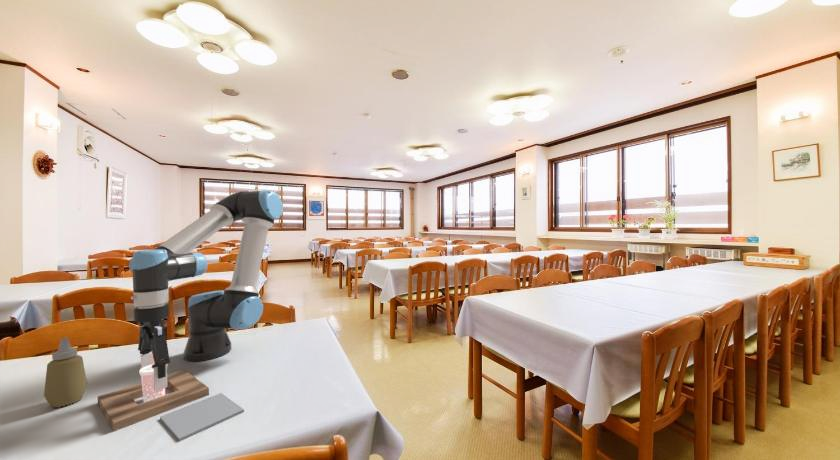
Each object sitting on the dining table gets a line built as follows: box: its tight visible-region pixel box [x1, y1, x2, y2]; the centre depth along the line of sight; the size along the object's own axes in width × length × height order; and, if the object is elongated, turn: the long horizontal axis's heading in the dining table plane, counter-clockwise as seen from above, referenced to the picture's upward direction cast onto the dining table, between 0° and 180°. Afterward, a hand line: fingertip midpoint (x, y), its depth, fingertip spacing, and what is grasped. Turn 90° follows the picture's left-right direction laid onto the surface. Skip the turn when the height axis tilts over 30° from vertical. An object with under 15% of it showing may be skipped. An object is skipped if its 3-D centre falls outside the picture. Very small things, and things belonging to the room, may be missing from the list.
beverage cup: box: [138, 354, 166, 403], centre depth 90 cm, size 6×6×14 cm
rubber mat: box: [159, 392, 245, 442], centre depth 82 cm, size 14×14×1 cm
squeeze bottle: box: [43, 337, 88, 408], centre depth 89 cm, size 8×8×18 cm
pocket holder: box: [97, 369, 210, 432], centre depth 90 cm, size 20×20×2 cm
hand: (154, 382), depth 90 cm, fingers open, 12 cm apart
